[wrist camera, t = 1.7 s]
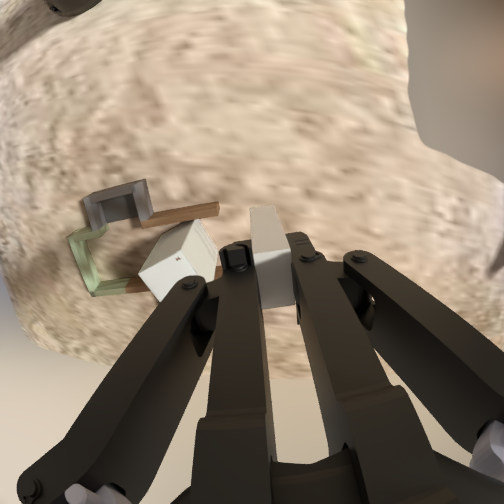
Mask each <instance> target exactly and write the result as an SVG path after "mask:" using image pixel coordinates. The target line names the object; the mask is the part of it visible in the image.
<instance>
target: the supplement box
mask: <svg viewBox="0 0 504 504" xmlns="http://www.w3.org/2000/svg"><path fill="white" fill-rule="evenodd" d="M217 256H218V249H217V247H216V246H215V244H214V242H213V241H212V239H211V238H210V236H209V234H208V233H207V231H206V230H205V228H204V226H203V225H202V223H201V222H200V220H199V219H195V220H189V221H186V222H184V223H182V224H180V225H178V226H177V227H175V228H173V229H171V230H169V231H168V232H166V233H164V234H162V235H161V237H160V238H159V240H158V241H157V243H156V245H155V246H154V248H153V249H152V251H151V253H150V254H149V256H148V258H147V259H146V261H145V263H144V264H143V266H142V268H141V270H140V271H139V273H138V275H139V276H140V277H141V279H142V280H143V281H144V282H145V284H146V285H147V286H148V288H149V289H150V290H151V292H152V293H153V294H154V295H155V297H156V298H157V299H158V300H159V302H161V301H162V300H163V298H164V297H165V296H166V295H167V293H168V292H169V291H170V289H171V288H172V287H173V286H174V284H175V283H176V282H177V281H178V280H180V279H182V278H183V277H186V276H190V275H199V276H202V277H204V278H205V280H206V283H207V282H210V281H213V280H214V275H215V268H216V262H217Z"/></svg>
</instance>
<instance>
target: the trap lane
mask: <svg viewBox="0 0 504 504" xmlns="http://www.w3.org/2000/svg"><path fill="white" fill-rule="evenodd" d="M83 201H84V204H85V208H86V211H87V215H88V218H89V221H90V224H91V227H86V228H82V229H78V230H76V231H75V232H73V233H72V234H71V235H70V236H68V237H67V238H68V240H69V243H70V246H71V249H72V251H73V254H74V257H75V259H76V262H77V264H78V267H79V269H80V271H81V274H82V276H83V279H84V281H85V283H86V285H87V288H88V290H89V292H90V294H91V296H92V297H96V296H107V295H117V294H127V293H137V292H146V291H151V290H150V289H149V288H148V286H147V285H146V284H145V282H144V281H143V280H142V279H141V277H132V278H124V279H116V280H108V281H101V280H100V277H99V275H98V272H97V270H96V267H95V265H94V262H93V260H92V257H91V254H90V252H89V249H88V246H87V243H86V240H88V239H93V238H98V237H101V236H102V235H103V234H104V233H105V232H106V231H108V230H109V227H108V224H107V223H110V222H115V221H119V220H124V219H128V218H133V217H138V216H139V219H140V222H141V226H142V229H144V228H149V227H154V226H160V225H166V224H171V223H177V222H183V221H189V220H195V219H201V218H207V217H214V216H218V214H219V210H220V207H219V202H212V203H206V204H200V205H194V206H188V207H183V208H177V209H172V210H166V211H161V212H156V213H154V212H153V208H152V204H151V200H150V196H149V191H148V187H147V183H146V179H142V180H138V181H134V182H130V183H126V184H122V185H118V186H115V187H111V188H107V189H104V190H100V191H97V192H93V193H91V194H90V195H88V196H86V197H84V198H83ZM222 272H223V269H222V266H217V267H216V268H215V275H214V280H216V279H218V278H220V277H221V276H222Z"/></svg>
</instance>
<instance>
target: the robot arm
mask: <svg viewBox="0 0 504 504" xmlns="http://www.w3.org/2000/svg"><path fill="white" fill-rule="evenodd" d="M44 1H45V2H46V4H47V5H48V7H49V8H50V10H51V11H53V12H54V13H56V14H58V15H61V16H74V15H77V14H80V13H82V12H84V11H86V10H88V9H90V8H91V7H93V6H95V5H96V4H97V3H99V2H100V1H101V0H44ZM250 223H251V238H252V239H251V240H244V241H238V242H233V243H232V244H229V245H227V246H224V247H223V248H222V249H220V251H219V255H220V260H221V265H222V269H223V272H222V276H221V277H220V278H218V279H216V280H213V281H210V282H207V283H206V280H205V278H204V277H202V276H199V275H190V276H186V277H183V278H182V279H180V280H178V281H177V282H176V283H175V284H174V286H173V287H172V288H171V289H170V291H169V292H168V293H167V295H166V296H165V297H164V298H163V300H162V301H161V302H160V304H159V305H158V306H157V307H156V309H155V310H154V311H153V313H152V314H151V315H150V317H149V318H148V319H147V321H146V322H145V323H144V325H143V326H142V327H141V329H140V330H139V331H138V333H137V334H136V335H135V337H134V338H133V339H132V341H131V342H130V343H129V345H128V346H127V347H126V349H125V350H124V352H123V353H122V354H121V356H120V357H119V358H118V360H117V361H116V363H115V364H114V365H113V367H112V368H111V370H110V371H109V372H108V374H107V375H106V377H105V378H104V379H103V381H102V382H101V384H100V385H99V387H98V388H97V389H96V391H95V393H94V394H93V395H92V397H91V398H90V400H89V401H88V403H87V404H86V406H85V407H84V408H83V410H82V411H81V413H80V414H79V416H78V417H77V419H76V420H75V422H74V424H73V425H72V426H71V428H70V430H69V431H68V433H67V434H66V436H65V437H64V439H63V440H61V441H60V442H59V443H58V444H57V445H56V446H54V447H53V448H52V449H51V450H49V451H48V452H47V453H46V454H45V455H43V456H42V457H41V458H40V459H39V460H37V461H36V462H35V463H34V464H32V465H31V466H30V467H29V468H28V469H26V470H25V471H24V472H23V473H22V474H21V475H20V477H19V479H18V482H17V494H18V497H19V500H20V501H21V503H22V504H139V503H140V501H141V500H142V498H143V497H144V496H145V494H146V493H147V491H148V489H149V487H150V486H151V484H152V482H153V480H154V478H155V476H156V474H157V471H158V469H159V467H160V465H161V462H162V460H163V458H164V456H165V454H166V451H167V449H168V447H169V445H170V443H171V440H172V438H173V436H174V434H175V432H176V429H177V427H178V425H179V422H180V420H181V418H182V416H183V414H184V411H185V409H186V407H187V405H188V402H189V400H190V398H191V396H192V394H193V391H194V389H195V387H196V385H197V382H198V380H199V378H200V376H201V373H202V371H203V369H204V367H205V365H206V362H207V360H208V358H209V356H210V353H211V351H212V349H213V355H212V364H211V374H210V384H209V395H208V404H207V413H206V416H205V417H204V418H200V420H199V421H198V424H197V429H196V437H195V447H194V457H193V467H192V479H191V486H190V487H188V488H187V489H186V490H184V491H183V492H182V493H181V494H180V495H179V496H178V497H177V498H176V499H175V500H174V501H173V502H171V503H170V504H504V352H503V351H502V350H501V349H499V348H498V347H497V346H496V345H495V344H493V343H492V342H491V341H490V340H489V339H487V338H486V337H485V336H484V335H483V334H481V333H480V332H479V331H478V330H476V329H475V328H474V327H473V326H471V325H470V324H469V323H468V322H466V321H465V320H464V319H463V318H461V317H460V316H459V315H457V314H456V313H455V312H454V311H452V310H451V309H450V308H448V307H447V306H446V305H444V304H443V303H442V302H440V301H439V300H438V299H436V298H435V297H434V296H432V295H431V294H429V293H428V292H427V291H425V290H424V289H423V288H421V287H420V286H418V285H417V284H416V283H414V282H413V281H411V280H410V279H408V278H407V277H406V276H404V275H403V274H401V273H400V272H398V271H397V270H395V269H394V268H392V267H391V266H390V265H388V264H387V263H385V262H384V261H382V260H381V259H379V258H378V257H376V256H375V255H373V254H371V253H369V252H366V251H363V250H359V251H358V250H355V251H351V252H348V253H346V254H345V255H344V257H343V262H332V261H327V260H326V258H325V256H324V255H323V254H322V253H320V252H318V251H315V249H314V247H313V245H312V243H311V241H310V240H309V238H308V236H307V235H306V234H304V233H302V232H295V233H288V234H285V233H284V230H283V227H282V225H281V222H280V219H279V217H278V214H277V211H276V209H275V206H274V204H273V205H266V206H259V207H253V208H250ZM372 297H373V299H374V301H375V302H374V301H373V300H372ZM295 300H296V310H297V324H298V325H299V324H300V327H301V330H302V334H303V338H304V342H305V347H306V351H307V355H308V359H309V363H310V367H311V371H312V375H313V380H314V384H315V388H316V392H317V397H318V401H319V405H320V410H321V414H322V419H323V423H324V428H325V432H326V437H327V441H328V447H329V457H327V458H325V459H322V460H320V461H318V462H316V463H313V464H294V463H282V462H278V461H277V454H276V444H275V434H274V422H273V412H272V401H271V392H270V381H269V371H268V361H267V350H266V340H265V330H264V321H263V313H262V310H263V309H270V308H277V307H283V306H290V305H295ZM374 349H375V350H376V351H377V352H378V353H379V354H380V356H381V357H382V358H383V359H384V360H385V361H386V362H387V363H388V365H389V366H390V367H391V368H392V369H393V370H394V371H395V373H396V374H397V375H398V376H399V377H400V378H401V379H402V381H403V382H404V383H405V384H406V385H407V386H408V387H409V389H410V390H411V391H412V392H413V393H414V394H415V395H416V397H417V398H418V399H419V400H420V401H421V402H422V404H423V405H424V406H425V407H426V408H427V410H428V411H429V412H430V413H431V414H432V415H433V417H434V418H435V419H436V420H437V421H438V423H439V424H440V425H441V426H442V427H443V429H444V430H445V431H446V432H447V433H448V434H449V435H450V436H451V437H452V438H453V440H454V441H455V442H457V443H458V444H459V445H460V446H461V447H462V448H464V449H465V450H466V451H468V452H470V453H471V454H473V455H472V459H471V461H470V468H469V467H467V466H465V465H463V464H461V463H459V462H456V461H454V460H452V459H450V458H448V457H446V456H444V455H442V454H440V453H438V452H436V451H434V450H432V448H431V445H430V443H429V440H428V438H427V435H426V433H425V431H424V428H423V426H422V424H421V422H420V419H419V417H418V415H417V413H416V410H415V408H414V406H413V404H412V402H411V400H410V398H409V396H408V394H407V392H406V391H405V389H404V388H403V387H402V386H400V385H397V386H393V385H391V383H390V382H389V380H388V378H387V375H386V373H385V371H384V369H383V367H382V365H381V363H380V361H379V359H378V356H377V354H376V352H375V350H374Z"/></svg>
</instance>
